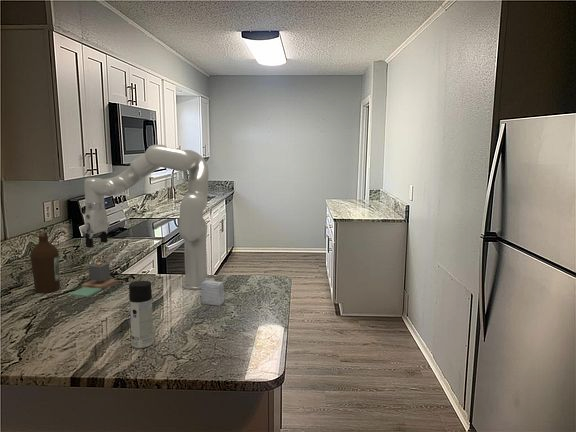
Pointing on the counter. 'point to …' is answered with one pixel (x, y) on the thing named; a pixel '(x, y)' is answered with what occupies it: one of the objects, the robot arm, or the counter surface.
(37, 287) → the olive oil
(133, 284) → the spray can
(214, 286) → the medicine box
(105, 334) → the counter surface
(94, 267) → the gift box
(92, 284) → the post stand
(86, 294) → the mat
